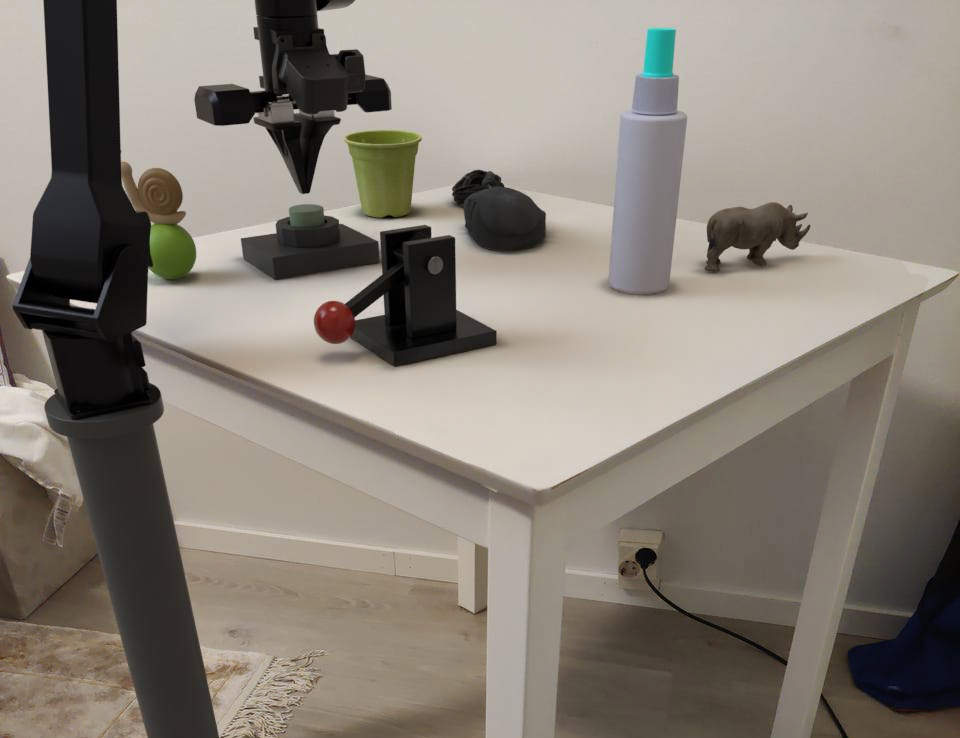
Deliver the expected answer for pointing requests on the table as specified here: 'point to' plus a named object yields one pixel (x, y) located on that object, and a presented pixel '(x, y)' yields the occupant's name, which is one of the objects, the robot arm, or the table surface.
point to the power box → (309, 249)
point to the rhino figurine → (752, 231)
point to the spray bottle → (648, 174)
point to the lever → (357, 302)
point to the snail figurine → (162, 220)
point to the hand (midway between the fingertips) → (304, 193)
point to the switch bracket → (421, 304)
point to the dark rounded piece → (498, 213)
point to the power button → (306, 215)
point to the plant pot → (384, 170)
